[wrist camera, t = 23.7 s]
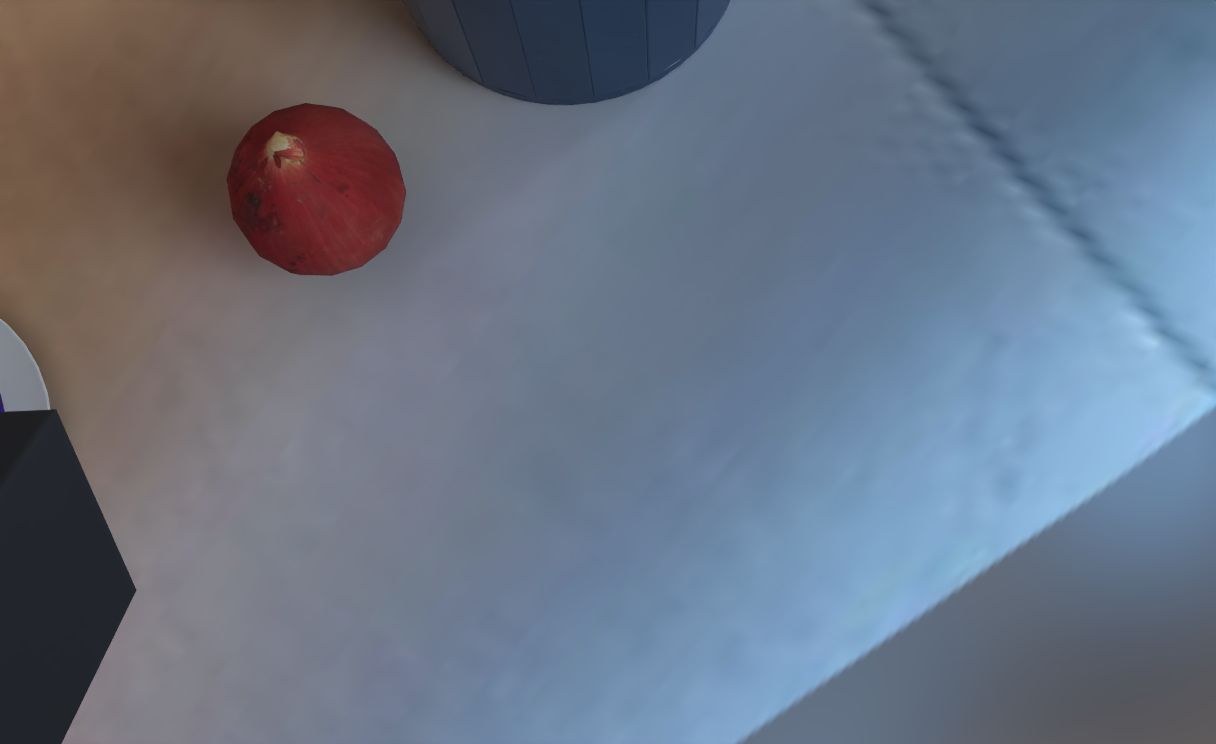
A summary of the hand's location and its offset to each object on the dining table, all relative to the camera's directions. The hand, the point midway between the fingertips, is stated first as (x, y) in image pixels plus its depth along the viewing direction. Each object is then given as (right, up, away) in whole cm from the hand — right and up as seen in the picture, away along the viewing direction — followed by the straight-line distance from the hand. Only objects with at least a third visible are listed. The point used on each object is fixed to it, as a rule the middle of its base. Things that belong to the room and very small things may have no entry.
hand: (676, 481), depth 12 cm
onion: (-11, +7, +30) cm, 32 cm away
